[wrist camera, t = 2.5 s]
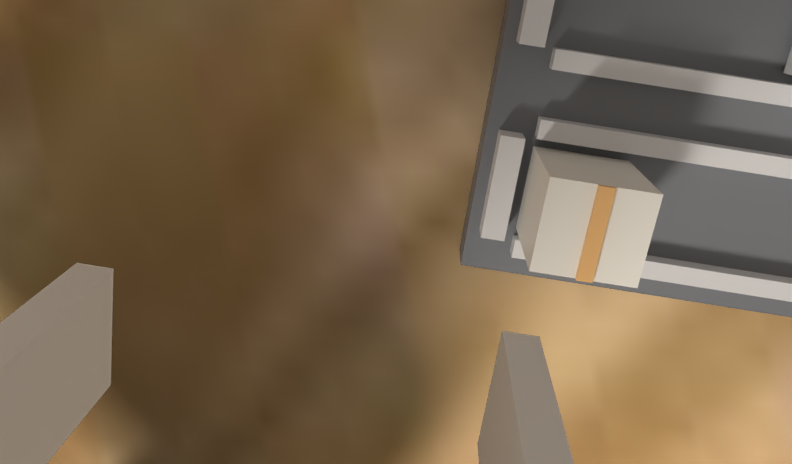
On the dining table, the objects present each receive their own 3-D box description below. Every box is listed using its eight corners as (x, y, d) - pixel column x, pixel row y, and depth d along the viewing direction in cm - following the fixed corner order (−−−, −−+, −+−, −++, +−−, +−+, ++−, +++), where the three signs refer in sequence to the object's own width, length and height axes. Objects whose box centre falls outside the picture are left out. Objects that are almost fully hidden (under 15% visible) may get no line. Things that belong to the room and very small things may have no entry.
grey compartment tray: (459, 249, 35) (461, 275, 32) (529, -124, 29) (539, -136, 26) (883, 316, 35) (925, 348, 32) (1030, -47, 29) (1098, -49, 26)
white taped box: (516, 227, 32) (529, 273, 27) (533, 145, 31) (550, 178, 26) (608, 242, 32) (638, 290, 27) (629, 160, 31) (665, 196, 26)
